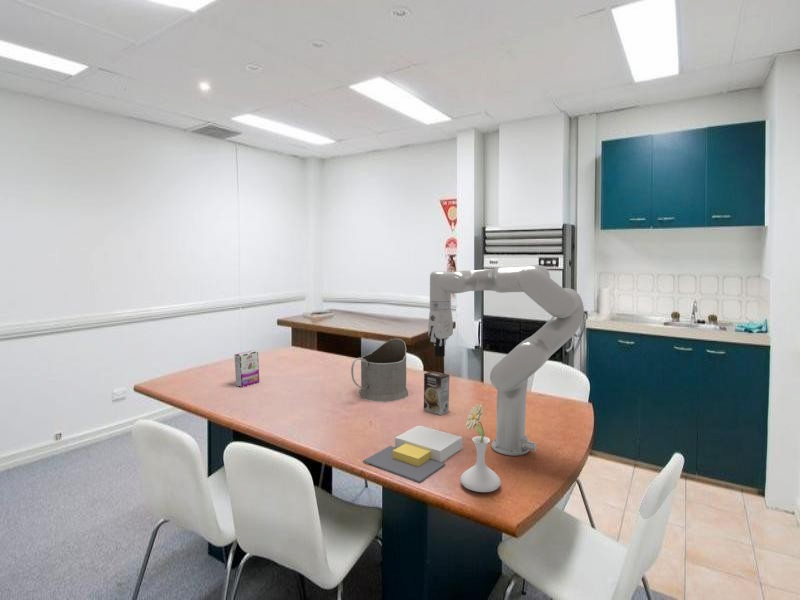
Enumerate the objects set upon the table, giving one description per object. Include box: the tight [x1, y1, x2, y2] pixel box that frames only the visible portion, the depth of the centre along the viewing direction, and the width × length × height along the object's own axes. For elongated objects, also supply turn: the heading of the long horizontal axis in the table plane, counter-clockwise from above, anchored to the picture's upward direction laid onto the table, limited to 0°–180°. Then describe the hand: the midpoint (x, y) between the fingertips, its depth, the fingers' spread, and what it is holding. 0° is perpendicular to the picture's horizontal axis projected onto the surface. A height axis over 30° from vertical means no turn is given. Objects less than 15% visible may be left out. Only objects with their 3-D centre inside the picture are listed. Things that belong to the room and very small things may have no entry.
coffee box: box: [423, 370, 450, 416], centre depth 192 cm, size 9×6×16 cm
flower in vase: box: [459, 403, 502, 493], centre depth 128 cm, size 13×11×25 cm
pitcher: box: [350, 338, 409, 403], centre depth 212 cm, size 23×32×25 cm
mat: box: [362, 445, 446, 484], centre depth 144 cm, size 22×14×1 cm, turn 53°
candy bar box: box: [234, 350, 260, 388], centre depth 232 cm, size 11×5×16 cm, turn 147°
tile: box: [393, 443, 431, 466], centre depth 147 cm, size 10×7×2 cm
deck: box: [394, 425, 463, 463], centre depth 155 cm, size 18×14×4 cm
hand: (439, 356), depth 165 cm, fingers closed
